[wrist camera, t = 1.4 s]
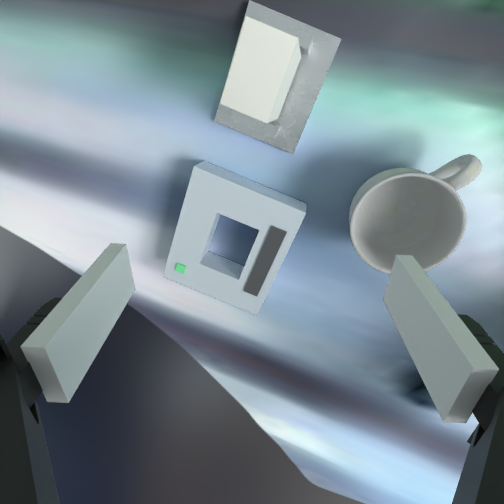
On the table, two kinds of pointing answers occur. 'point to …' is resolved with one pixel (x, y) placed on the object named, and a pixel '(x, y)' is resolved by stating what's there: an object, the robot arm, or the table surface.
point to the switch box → (242, 210)
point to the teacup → (411, 214)
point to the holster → (301, 89)
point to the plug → (261, 71)
